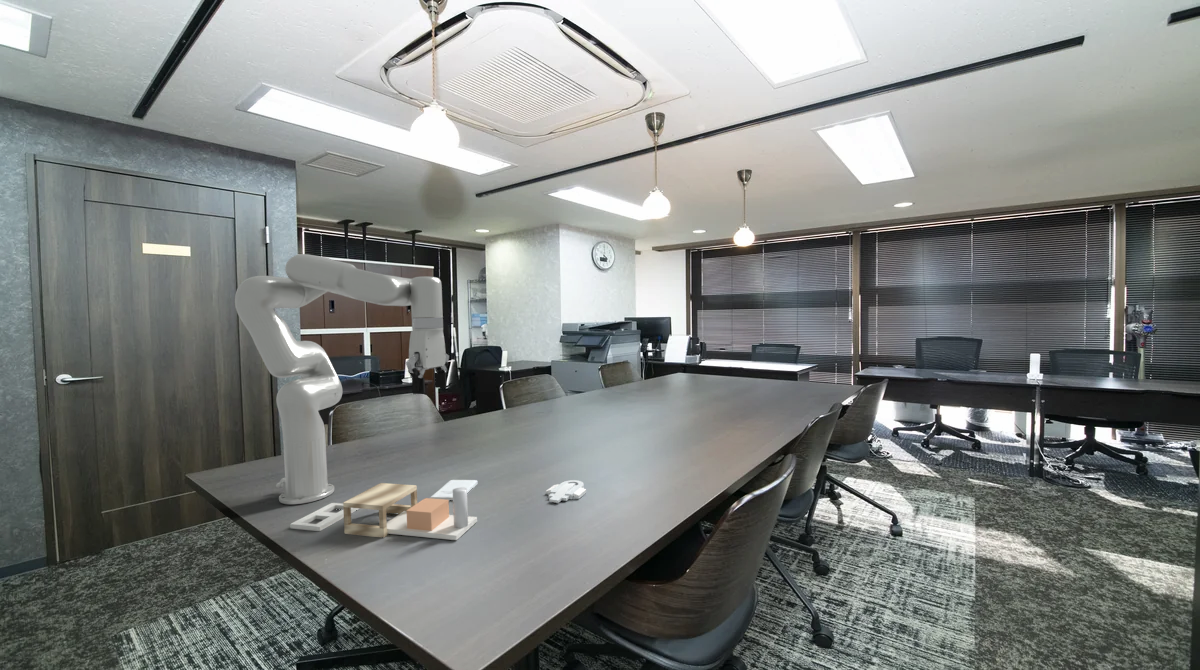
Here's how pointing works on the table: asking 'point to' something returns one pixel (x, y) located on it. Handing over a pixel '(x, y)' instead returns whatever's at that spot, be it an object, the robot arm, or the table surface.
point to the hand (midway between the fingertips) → (430, 390)
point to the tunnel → (378, 507)
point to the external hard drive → (447, 489)
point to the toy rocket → (566, 491)
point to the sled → (435, 518)
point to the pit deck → (321, 518)
